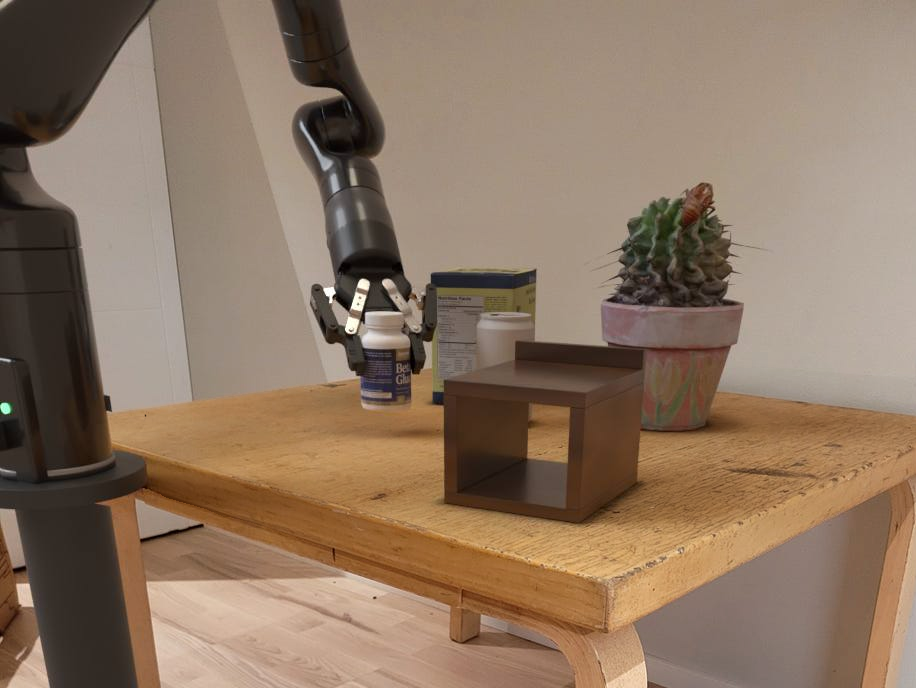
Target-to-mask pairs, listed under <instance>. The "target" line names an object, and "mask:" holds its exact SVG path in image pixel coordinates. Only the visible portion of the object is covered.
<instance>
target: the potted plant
mask: <svg viewBox="0 0 916 688" xmlns="http://www.w3.org/2000/svg"><path fill="white" fill-rule="evenodd" d="M683 194H685V197H681V196H682V195H683ZM713 198H714V188H713V184H712V183H709V182H704V181H702V182H700V183H699V184H697V185H696V186H695V187H693V188H691V190H689V188H686V189H685V190H683V192H682V193H681V194H680V195H679V197H677V198H675V199H674V200H673V201H672V202H671V203H669V202H670V200H671V198H669V197H668V198H666V197H665V196H661V197H660V198H659V199H658V200H655V199H652V201H650V202H649V204H648V206H647V207H643V209H642V211H641V215H638V216H635V217H631V218H628V220H627V224H626V227H627V232H628V234H629V236H627V238H626V239H625V240H624V241H623V242H622V243H621V244H620V246H621V247H619V248H616V249H614V250H612V251H610V252H608V253H607V255H609V254H612V253H615V252H618V251H619V252H618V253H617V254H616V256H618V255H619V254H620V252H623V253H622V254H620V255H619V257H618V260H616V261H614V262H611V263H607V264H606V265H602V266H600V267H598V268H595V269H592V270H589V271H588V273H590V272H592V271H596V270H598V269H602V268H605V267H607V266H610V265H613V264H615V263H620V264H621V265H623V267H621V268H620V269H619V271H618V272H617V275H615V276H613V277H611V278H609V279H607V280H605V281H603V282H602V284H604V283H606V282H608V281H611V280H614V279H617V278H620V279H621V281H622V282H621V283H616V284H612V286H615V287H614V288H613V290H616V291H615V292H612V293H608V295H609V296H611V297H607V298H604V299H602V301H601V303H600V320H601V322H600V323H601V341H604V342H605V343H607V346H613V347H628V348H642V349H647V353H646V366H645V378H644V382H643V383H644V391H643V404H642V417H641V430H648V431H655V432H656V431H658V432H686V431H694V430H697V429H701V428H704V427H705V426H706V423H707V419H708V417H709V413H710V411H711V407H712V405H713V401H714V399H715V395H716V393H717V390H718V387H719V384H720V380H721V378H722V375H723V372H724V370H725V366H726V363H727V360H728V357H729V354H730V351H731V347H732V346H734V345H737V344H738V340H739V336H740V330H741V324H742V321H743V320H742V319H743V315H744V309H745V308H744V307H745V303H744V302H741V301H738V300H733V299H730V298H725V296H726V295H727V294H728V290H729V286H733V285H735V283H729V281H730V279H731V277H732V273H733V274H740V275H742V272H737V271H735V270H733V266H732V265H731V264H732V262H730V261H728V260H727V259H728V258H729V257H734V258H739V259H740V258H741V259H742V257H741V256H738V255H736V254H734V253H731V252H730V251H729V249H730V248H731V246H732V245H734V246H740V247H744V245H743V244H739V243H734V242H732V232H730V235H729V238H726V237H722V235H723V234H725V233H728V232H729V230H725V227H726V228H727V227H732V226H733V224H723V223H721V222H722V220H721V219H719V217H718V214H715V215H712V216H710V215H711V214H712V213H714V212H715V211H716V206H713V204H714V203H716V201H715V200H713ZM709 216H710V217H709ZM745 248H750V246H749V245H748V246H747V245H745ZM751 248H752V249H756V247H754V246H751ZM757 250H761V248H760V247H757ZM762 251H765V249H764V248H762ZM767 251H769V252H770V249H769V250H768V249H767ZM771 252H774V251H771ZM602 257H603V255H602V256H599V257H598V258H596V260H597V259H599V258H602ZM589 263H590V261H588V262H586V263H584V264H583V266H585V265H586V264H589ZM736 265H737V266H738V265H739V264H736ZM727 277H729V278H728V279H727V281H725V279H726V278H727ZM606 287H610V284H608V285H606ZM600 288H605V285H601V286H599V287H598V289H600ZM595 289H597V287H596V288H595Z"/></svg>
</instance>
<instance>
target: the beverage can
mask: <svg viewBox="0 0 916 688" xmlns="http://www.w3.org/2000/svg"><path fill="white" fill-rule="evenodd" d="M480 317H481V320H480V321H479V323H478V324H477V337H476V370H480V369H483V368H487V367H490V366H494V365H498V364H501V363H505V362H508V361H512V360H515V341H517V340H526V341H534V328H535V329H536V326H535V327H534V325H533V323H532V322H531V314H527V313H518V312H488V313H481V314H480ZM532 409H533V404H531V403H529V419H528V421H530V420H531V419H532V411H533V410H532Z"/></svg>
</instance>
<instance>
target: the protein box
mask: <svg viewBox="0 0 916 688" xmlns="http://www.w3.org/2000/svg"><path fill="white" fill-rule="evenodd" d="M537 270H538V269H537V268H522V267H521V268H520V267H519V268H518V267H495V266H494V267H489V266H488V267H487V266H486V267H485V266H459V267H456V268H451V269H445V270H440V271H434V272H431V273H430V283H432V284H434V285H435V286H436V288H437V326H436V328H435V331H434V336H433V340H432V341H431V386H432V387H431V388H432V390H431V393H432V396H431V398H432V404H439V405H444V380H445V379H448V378H452V377H455V376H459V375H462V374H466V373H469V372H473V371H476V337H477V324H478V323H479V321H480V320H481V317H480V314H481V313H488V312H518V313H527V314H531V322H532V323H533V325H534V327H535V328H534V341H536V312H537V311H536V308H537V306H536V305H537Z"/></svg>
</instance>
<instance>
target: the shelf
mask: <svg viewBox="0 0 916 688" xmlns="http://www.w3.org/2000/svg"><path fill="white" fill-rule="evenodd" d="M646 353H647V349H642V348H628V347H613V346H608V345H598V344H584V343H583V344H582V343H570V342H569V343H567V342H552V341H538V340H535V341H526V340H517V341H515V360H512V361H508V362H505V363H501V364H498V365H494V366H490V367H487V368H483V369H480V370H476V371H473V372H469V373H466V374H462V375H459V376H455V377H452V378H448V379H445V380H444V404H443V491H444V492H443V493H444V494H443V495H444V496H443V497H444V499H443V500H444V501H443V502H444V503H445V504H451V505H457V506H463V507H472V508H477V509H483V510H490V511H495V512H496V511H498V512H504V513H510V514H511V513H512V514H517V515H523V516H530V517H535V518H536V517H537V518H543V519H550V520H554V521H555V520H556V521H562V522H568V523H569V522H570V523H577V524H579V523H581V522H582V521H584V520H585V519H587V518H588V517H590V516H591V515H592V514H593V513H596V512H597V511H598V510H600V509H601V508H602V507H605V505H607V504H608V503H609V502H612V500H614V499H616V497H618V496H620V495H621V494H622V493H624V492H626V491H627V490H628V489H630V488H631V487H632V486H635V484H637V483H638V469H639V458H640V457H639V456H640V442H641V430H642V429H641V417H642V404H643V391H644V383H643V382H644V378H645V366H646ZM529 403H531V404H532V405H543V406H552V407H553V406H554V407H563V408H569V424H568V444H567V445H568V446H567V447H568V448H567V449H568V450H567V462H560V461H555V460H546V459H537V458H528V452H529V451H528V449H529V420H528V419H529Z"/></svg>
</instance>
